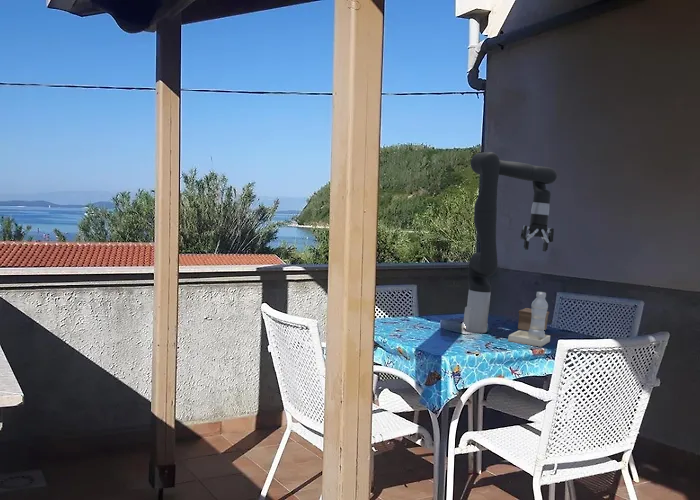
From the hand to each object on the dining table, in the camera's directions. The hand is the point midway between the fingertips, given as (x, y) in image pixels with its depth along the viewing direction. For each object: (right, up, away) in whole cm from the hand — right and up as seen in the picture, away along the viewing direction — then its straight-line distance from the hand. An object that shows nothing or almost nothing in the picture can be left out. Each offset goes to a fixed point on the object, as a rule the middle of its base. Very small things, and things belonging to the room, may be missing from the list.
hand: (535, 250), depth 295 cm
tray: (-8, -37, -20) cm, 43 cm away
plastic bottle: (-6, -37, -22) cm, 43 cm away
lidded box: (+1, -36, +10) cm, 37 cm away
